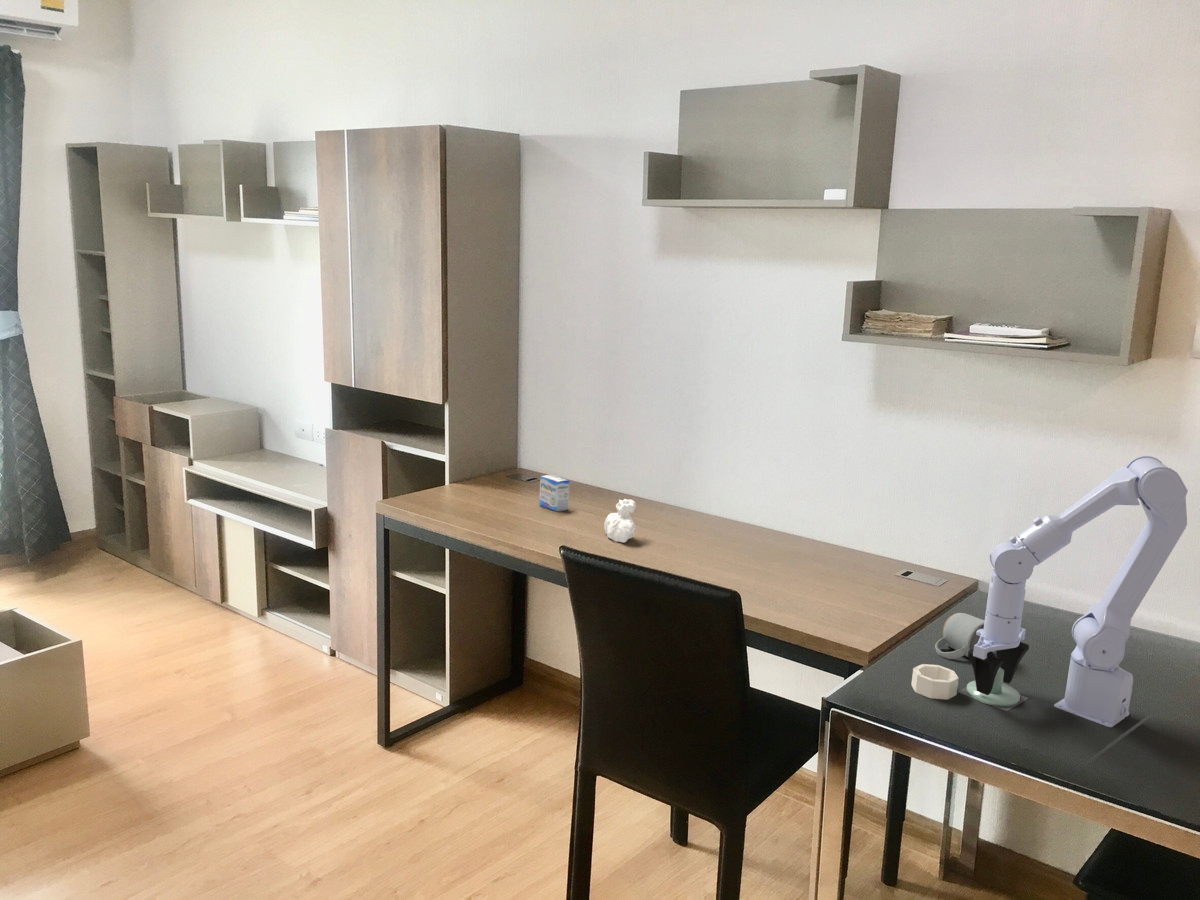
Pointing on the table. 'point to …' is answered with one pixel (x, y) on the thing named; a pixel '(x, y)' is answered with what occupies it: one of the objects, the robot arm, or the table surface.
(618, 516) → the white tied sack
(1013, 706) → the mat
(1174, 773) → the table surface
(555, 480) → the medicine box
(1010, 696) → the lid
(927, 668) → the bowl
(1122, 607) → the robot arm
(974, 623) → the ceramic mug
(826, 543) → the table surface
